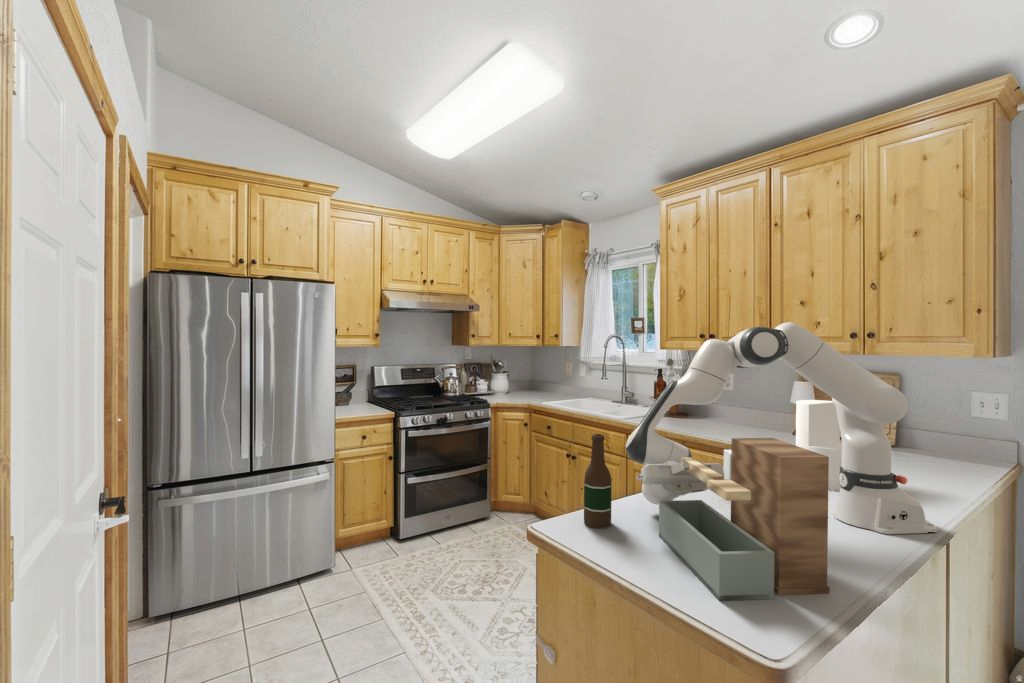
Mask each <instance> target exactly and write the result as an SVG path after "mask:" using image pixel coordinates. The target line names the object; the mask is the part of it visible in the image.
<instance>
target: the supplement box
mask: <svg viewBox="0 0 1024 683" xmlns="http://www.w3.org/2000/svg"><path fill="white" fill-rule="evenodd" d="M722 466H723V469H724V474H725V477H724V479H730V480H731V449H727V448H726V449H723V465H722Z"/></svg>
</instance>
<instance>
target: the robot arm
mask: <svg viewBox="0 0 1024 683" xmlns="http://www.w3.org/2000/svg"><path fill="white" fill-rule="evenodd" d="M777 360H780V361H782V362H784V363H785V364H786V366H788V367H789V368H791V370H793V371H795V373H797V374H799V375H800V376H801V377H802V378H803V379H805V380H806V381H808V382H809V383H810V384H811V385H812V386H814V387H815V388H817V389H818V390H819V391H822V392H823V393H824V394H826V395H828V396H829V397H831V401H833V403H834V405H835V407H836V412H837V417H838V422H839V427H840V438H841V439H840V440H841V442H842V466H840V473H839V482H840V491H839V495H838V501H837V504H836V508H835V511H834V512H833V513H834V514H833V516H834V517H835V518H836V519H837V520H839V521H841V522H843V523H845V524H847V525H852V526H854V527H858V528H862V529H867V530H871V531H874V532H877V533H880V534H885V535H903V534H906V535H907V534H908V535H909V534H929V533H928V532H935V533H937V531H938V530H937V527H936V526H935V525H934V524H933V523H931V522H930V521H928V520H926V516H925V511H924V508H923V506H922V505H921V504H920V502H919V501H918V500H916V499H915V498H914V497H912V496H911V495H909V494H908V493H907V492H906V491H904V490H903V489H902V488H900V487H899V485H898V483H899V484H900V485H906V484H907V483H908V478H907V477H906V476H902V475H899V474H898V475H897V474H895V473H893V472H892V444H891V441H890V439H889V437H888V436H887V433H886V429H885V427H884V425H885V424H888V425H889V424H894V423H897V422H899V421H900V420H902V419H903V418H904V417H905V415H906V414H907V412H908V408H909V402H908V400H907V397H906V395H905V394H904V393H903V392H901V391H900V390H899V389H898V388H896V387H894V386H892V385H891V384H889V383H887V382H885V381H884V380H883V379H881V378H880V377H879V376H877V375H875V374H874V373H873V372H870V371H869V370H867V369H865V368H863V367H862V366H860V365H859V364H857V363H855V362H854V361H852V360H850V359H849V358H848V357H846V356H844V354H842V353H841V352H839V351H838V350H837V349H836V348H834V347H832V345H830V344H828V342H826V341H825V340H823V339H822V338H820V337H819V336H818V335H816V334H815V333H813V332H812V331H810V330H808V329H807V328H805V327H803V326H801V325H799V324H797V323H794V322H792V321H788V322H783V323H781V324H779V325H777V326H776V327H774V328H772V327H768V326H767V327H766V326H754V327H751V328H747V329H743V330H741V331H740V332H738V333H737V334H734V335H733V336H731V337H730V338H728V339H727V340H723V339H720V338H719V339H718V338H710V339H706V340H705V341H704V342H703V343H702V344H701V346H700V347H699V349H698V350H697V351H696V353H695V355H694V357H693V358H692V359H691V362H690V364H689V366H688V368H687V370H686V372H685V373H684V375H682V377H681V378H679V379H678V380H671V381H670V382H669V383H668V384H667V385H666V386H665V387H664V388H663V390H662V391H661V393H659V395H658V397H657V398H656V399H655V401H654V402H653V403H652V405H651V407H650V408H649V410H648V411H647V412H646V414H645V415H644V417H643V418H642V420H641V422H640V423H639V424H638V426H636V428H635V429H634V430H633V431H632V432H631V434H630V435H629V436H628V437H627V440H626V443H625V451H626V454H627V456H628V457H629V459H630V460H631V461H633V462H634V463H639V464H641V465H643V466H642V467H641V470H640V474H638V475H637V476H636V481H640V482H642V485H641V492H642V495H643V497H644V498H645V500H646V501H648V502H649V503H651V504H653V505H657V506H659V501H675V499H678V498H679V497H681V496H683V497H684V496H686V495H689V494H693V493H699V492H705V491H707V490H709V489H708V488H707V484H706V483H705V482H703V481H702V480H700V479H698V478H697V477H695V476H694V475H692V474H691V473H689V472H687V470H689V466H688V462H681V458H692V459H694V458H693V456H692V452H691V450H690V448H688V447H687V446H685V445H683V444H681V443H679V442H676V441H675V440H671V439H670V438H667V437H665V436H663V435H661V434H658V433H657V432H655V429H656V428H657V426H658V425H659V423H660V422H661V420H662V419H663V417H664V416H665V415H666V413H667V411H668V410H669V409H670V408H672V407H674V406H675V405H694V406H699V405H700V406H704V405H709V404H713V403H714V402H716V401H718V400H719V398H720V397H721V395H722V394H723V392H724V390H725V388H726V386H727V383H728V381H729V378H730V376H731V374H732V372H733V371H734V370H735V369H736V368H739V369H751V368H754V369H755V368H759V367H762V366H765V365H769V364H771V363H773V362H775V361H777ZM698 462H699V463H701V464H703V465H705V466H706V467H708V468H710V469H712V470H713V471H715V472H717V473H719V474H720V475H722V476H724V477H725V474H724V469H723V466H724V465H722V463H721V462H720V463H719V462H709V463H707V462H705V463H704V462H703V461H698Z"/></svg>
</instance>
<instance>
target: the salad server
mask: <svg viewBox="0 0 1024 683" xmlns="http://www.w3.org/2000/svg"><path fill="white" fill-rule="evenodd" d="M692 458H693V457H692ZM692 458H681V462H688V466H689V470H687V472H689V473H691V474H692V475H694V476H695V477H697V478H698V479H700V480H702V481H703V482H705V483H706V484H707V488H708V490H709V491H711V492H712V493H714V494H715V495H717V496H718V497H721V498H722V499H723V500H725V501H727V502H729V501H730V502H731V501H735V500H751V491H750V490H748V489H746V488H744V487H743V486H741V485H739V484H737V483H736V482H734V481H732V480H730V479H724V476H722V475H720V474H719V473H717V472H715V471H713V470H712V469H710V468H708V467H706V466H705V465H703V464H701V463H699V462H700V461H697V460H695V459H694V458H693V459H692Z"/></svg>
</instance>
